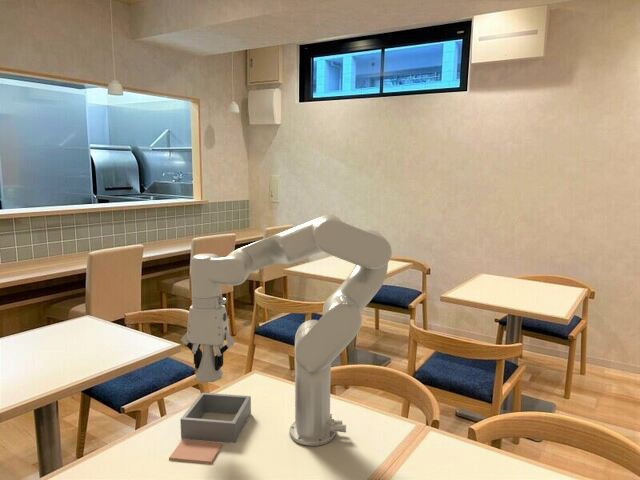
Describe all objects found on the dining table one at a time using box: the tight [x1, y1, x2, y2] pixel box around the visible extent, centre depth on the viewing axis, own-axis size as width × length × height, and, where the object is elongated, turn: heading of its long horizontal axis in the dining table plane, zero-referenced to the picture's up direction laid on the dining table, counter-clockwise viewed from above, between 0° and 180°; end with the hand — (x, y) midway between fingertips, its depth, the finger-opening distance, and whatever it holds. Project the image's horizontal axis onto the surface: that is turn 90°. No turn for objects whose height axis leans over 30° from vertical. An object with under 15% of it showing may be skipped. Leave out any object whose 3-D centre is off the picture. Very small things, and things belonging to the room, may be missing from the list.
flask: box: [194, 344, 224, 383], centre depth 124 cm, size 7×7×10 cm
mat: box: [168, 438, 224, 465], centre depth 119 cm, size 11×8×1 cm
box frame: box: [179, 392, 252, 444], centre depth 131 cm, size 15×15×6 cm
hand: (208, 366), depth 124 cm, fingers closed on flask, 4 cm apart
